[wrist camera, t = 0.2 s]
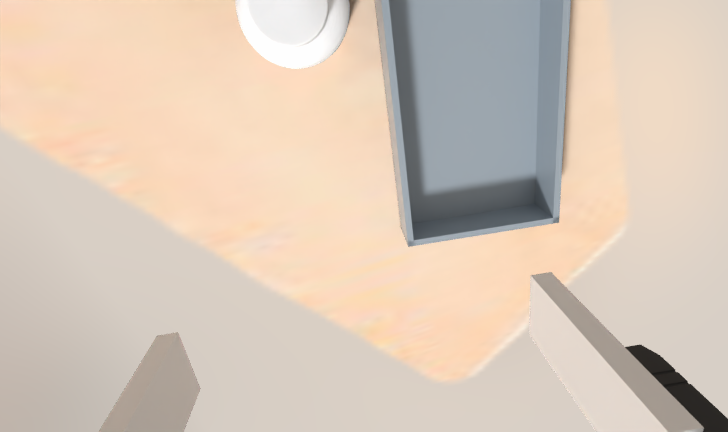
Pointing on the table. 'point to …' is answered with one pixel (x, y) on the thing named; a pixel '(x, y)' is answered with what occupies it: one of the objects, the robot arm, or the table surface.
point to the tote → (475, 113)
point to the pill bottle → (294, 29)
